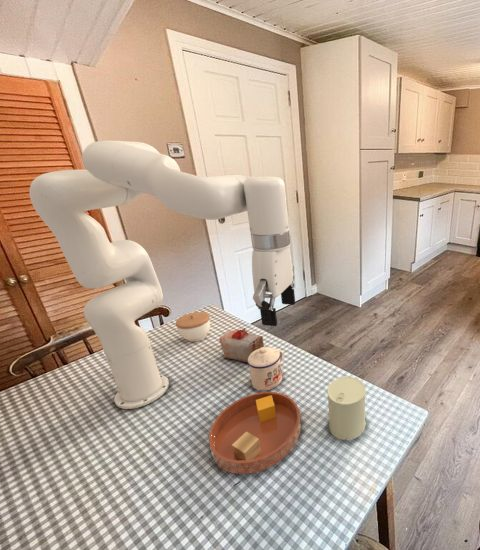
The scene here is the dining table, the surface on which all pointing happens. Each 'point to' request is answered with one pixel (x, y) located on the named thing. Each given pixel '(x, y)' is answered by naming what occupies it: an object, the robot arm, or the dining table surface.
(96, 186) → the robot arm
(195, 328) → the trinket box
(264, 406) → the mustard block
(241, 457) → the birch block
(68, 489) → the dining table surface
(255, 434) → the bowl
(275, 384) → the teacup with lid
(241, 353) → the food item
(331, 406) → the can
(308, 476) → the dining table surface
